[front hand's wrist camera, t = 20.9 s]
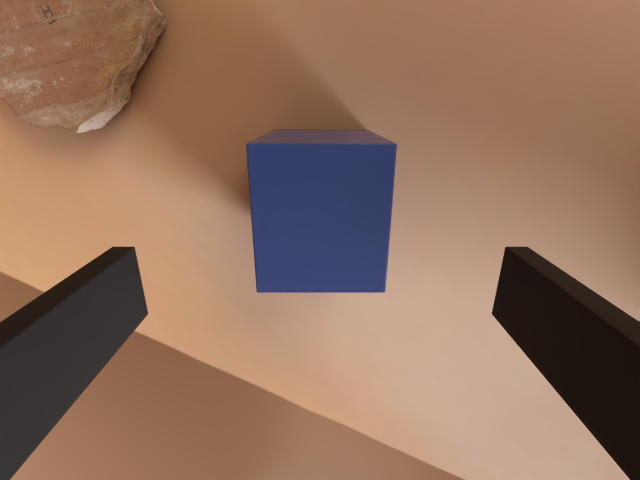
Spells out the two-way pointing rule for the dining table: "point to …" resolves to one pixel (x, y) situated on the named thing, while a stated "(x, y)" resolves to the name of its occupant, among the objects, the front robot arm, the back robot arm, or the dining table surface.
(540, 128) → the dining table surface
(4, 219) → the dining table surface
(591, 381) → the front robot arm
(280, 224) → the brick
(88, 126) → the stone
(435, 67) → the dining table surface
